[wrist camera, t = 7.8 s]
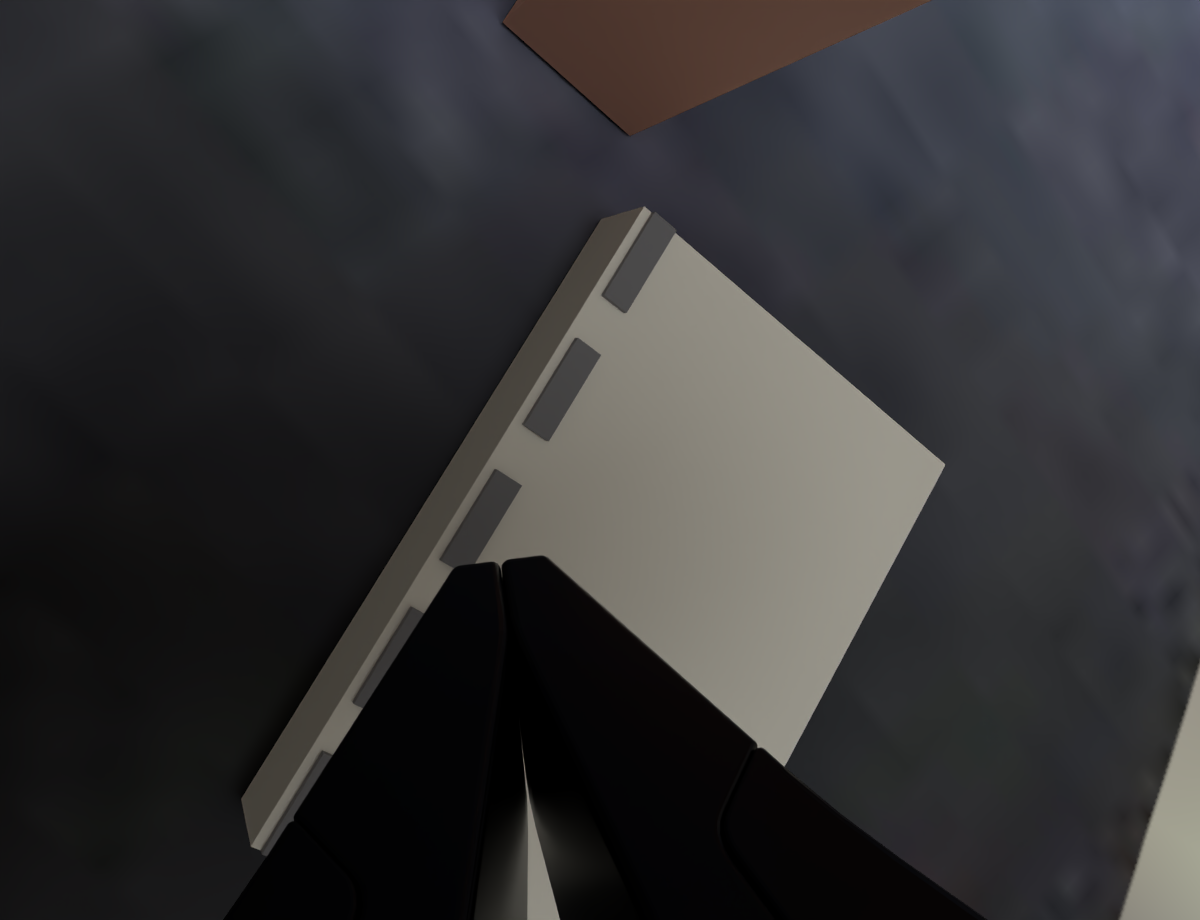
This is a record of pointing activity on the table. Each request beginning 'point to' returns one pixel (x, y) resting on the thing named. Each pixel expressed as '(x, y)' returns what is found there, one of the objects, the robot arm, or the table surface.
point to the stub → (682, 45)
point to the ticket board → (649, 504)
